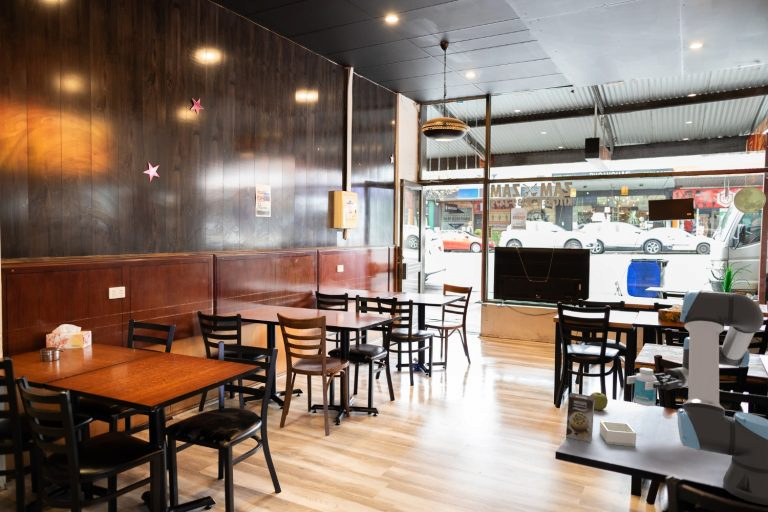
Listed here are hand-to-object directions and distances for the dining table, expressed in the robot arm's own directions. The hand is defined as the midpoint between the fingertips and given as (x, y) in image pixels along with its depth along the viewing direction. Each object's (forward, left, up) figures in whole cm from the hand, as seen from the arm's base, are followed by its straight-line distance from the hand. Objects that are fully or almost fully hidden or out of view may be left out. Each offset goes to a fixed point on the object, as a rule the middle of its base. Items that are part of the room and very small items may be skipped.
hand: (636, 383), depth 197 cm
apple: (+33, +5, -22) cm, 40 cm away
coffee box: (-3, +21, -22) cm, 30 cm away
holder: (-2, +7, -22) cm, 23 cm away
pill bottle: (+3, -4, -9) cm, 10 cm away
